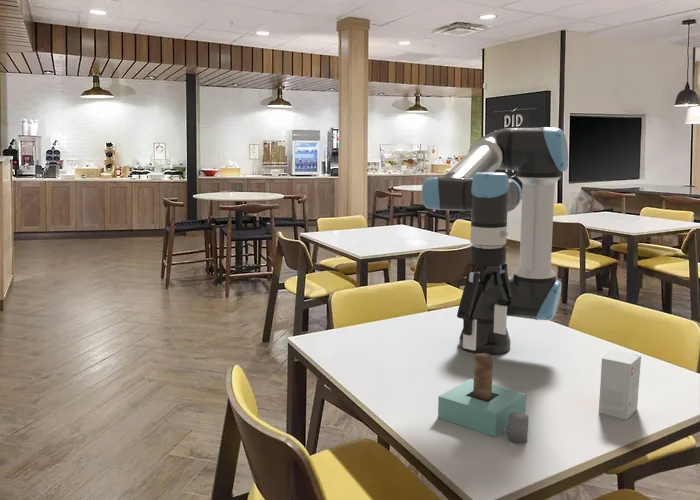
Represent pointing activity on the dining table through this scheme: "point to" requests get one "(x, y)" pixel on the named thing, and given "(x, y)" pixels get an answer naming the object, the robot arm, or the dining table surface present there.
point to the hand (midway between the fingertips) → (485, 340)
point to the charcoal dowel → (518, 427)
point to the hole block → (480, 408)
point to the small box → (619, 384)
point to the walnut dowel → (483, 377)
